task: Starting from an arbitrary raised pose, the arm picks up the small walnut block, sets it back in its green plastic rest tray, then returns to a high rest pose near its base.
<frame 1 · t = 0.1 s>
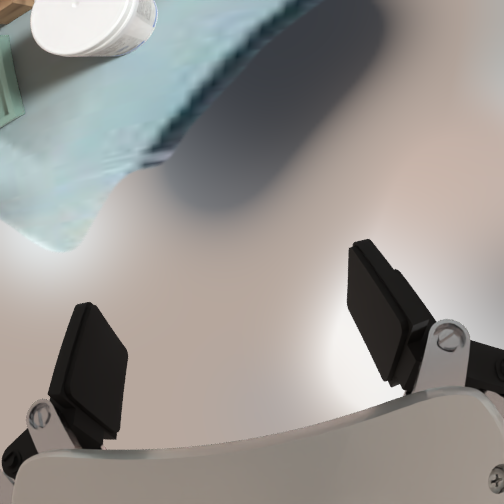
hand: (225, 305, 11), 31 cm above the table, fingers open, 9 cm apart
supplement tub: (121, 22, 26), on the table
walnut block: (19, 2, 20), on the table
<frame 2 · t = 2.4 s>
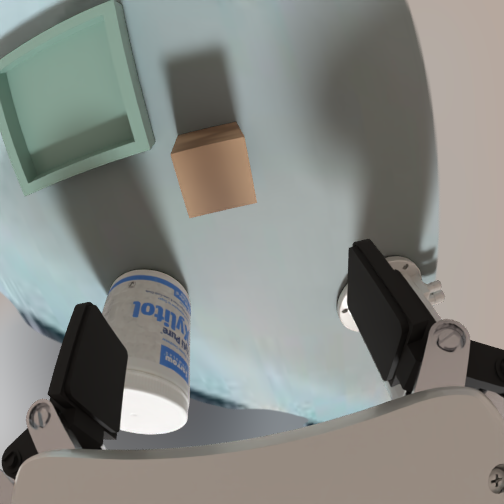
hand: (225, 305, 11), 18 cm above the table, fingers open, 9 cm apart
supplement tub: (149, 297, 34), on the table
walnut block: (213, 155, 26), on the table
rest tray: (68, 98, 20), on the table
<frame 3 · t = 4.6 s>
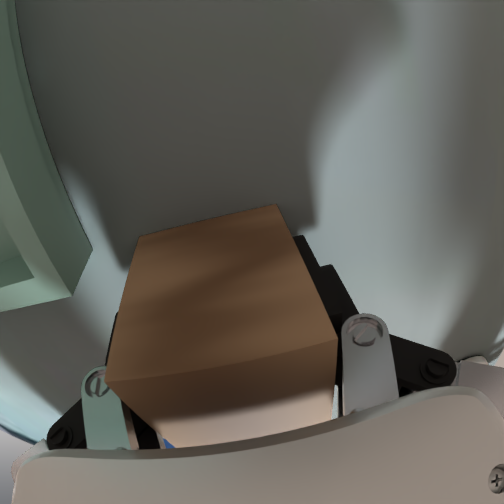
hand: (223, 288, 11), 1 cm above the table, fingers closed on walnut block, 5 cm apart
walnut block: (222, 274, 12), on the table, touching gripper
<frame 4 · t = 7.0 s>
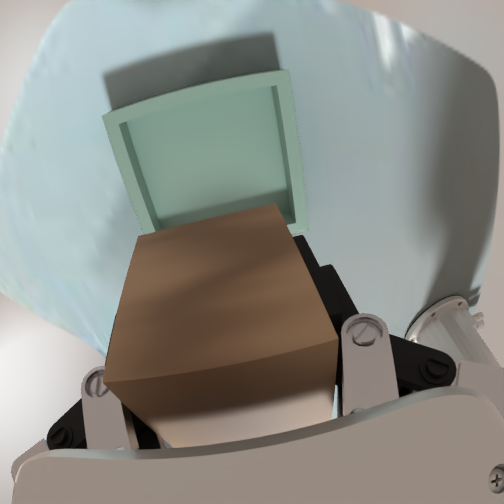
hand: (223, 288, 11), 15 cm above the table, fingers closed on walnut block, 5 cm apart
walnut block: (221, 274, 12), point 14 cm above the table, touching gripper
rest tray: (212, 163, 24), on the table
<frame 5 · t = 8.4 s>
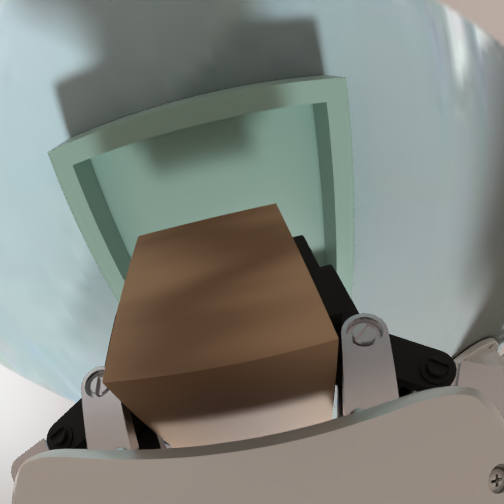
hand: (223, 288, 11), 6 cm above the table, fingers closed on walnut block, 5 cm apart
walnut block: (221, 274, 12), point 5 cm above the table, touching gripper
rest tray: (220, 215, 16), on the table
when the fingers open (2 cm above the table, at t = 9.5 s): walnut block drops 1 cm, resting on rest tray.
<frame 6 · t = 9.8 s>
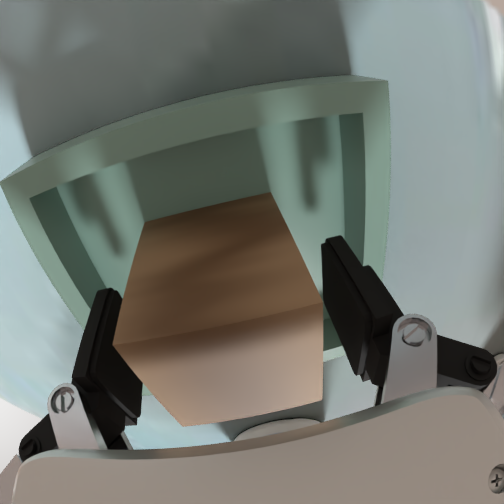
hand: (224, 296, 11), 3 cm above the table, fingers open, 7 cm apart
supplement tub: (277, 432, 27), on the table
walnut block: (220, 258, 13), point 1 cm above the table, touching rest tray
rest tray: (219, 250, 13), on the table
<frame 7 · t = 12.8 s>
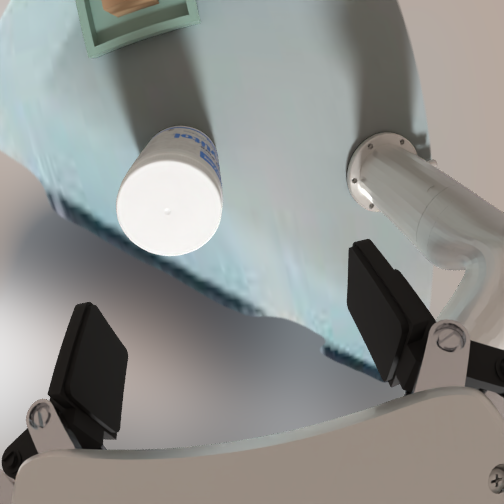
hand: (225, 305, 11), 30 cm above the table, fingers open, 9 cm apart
supplement tub: (179, 159, 37), on the table
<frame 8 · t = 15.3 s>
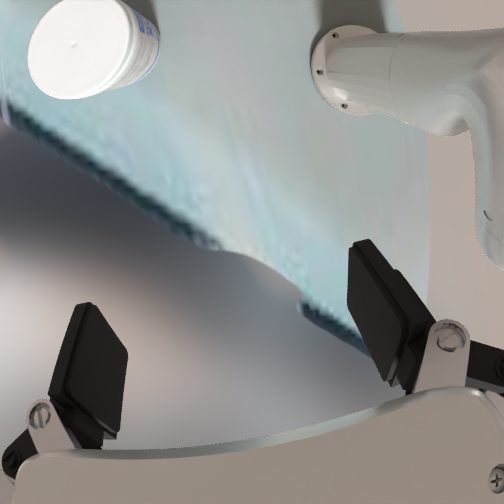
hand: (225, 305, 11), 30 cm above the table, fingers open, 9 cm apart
supplement tub: (122, 50, 28), on the table
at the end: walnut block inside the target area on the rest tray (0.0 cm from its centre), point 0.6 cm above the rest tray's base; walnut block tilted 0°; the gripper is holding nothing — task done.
